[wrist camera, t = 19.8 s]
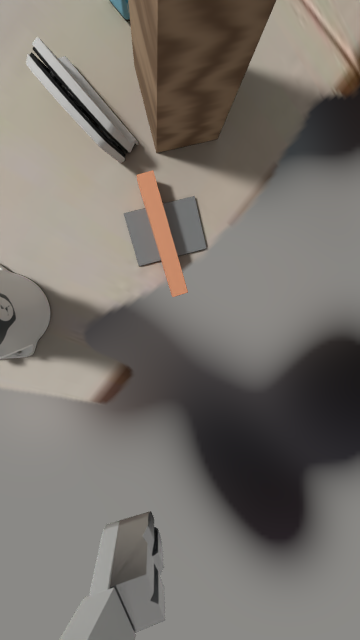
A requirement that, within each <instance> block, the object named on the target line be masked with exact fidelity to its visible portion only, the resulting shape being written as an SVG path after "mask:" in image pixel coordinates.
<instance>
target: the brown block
mask: <svg viewBox="0 0 360 640" xmlns="http://www.w3.org/2000/svg"><path fill="white" fill-rule="evenodd" d="M275 2H276V0H128V3H129V13H130V23H131V34H132V44H133V55H134V65H135V70H136V74H137V78H138V82H139V86H140V89H141V93H142V97H143V101H144V105H145V109H146V113H147V117H148V121H149V125H150V129H151V133H152V137H153V141H154V145H155V149H156V153H159V152H163V151H167V150H172V149H176V148H180V147H185V146H189V145H194V144H198V143H202V142H207V141H211V140H215V139H218V137H219V134H220V132H221V129H222V127H223V125H224V122H225V120H226V118H227V115H228V113H229V111H230V108H231V106H232V103H233V101H234V99H235V96H236V94H237V92H238V89H239V87H240V85H241V82H242V80H243V78H244V75H245V73H246V70H247V68H248V66H249V63H250V61H251V59H252V56H253V54H254V52H255V49H256V47H257V44H258V42H259V40H260V37H261V35H262V33H263V30H264V28H265V26H266V23H267V21H268V18H269V16H270V14H271V11H272V9H273V7H274V4H275Z"/></svg>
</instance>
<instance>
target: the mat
mask: <svg viewBox="0 0 360 640" xmlns="http://www.w3.org/2000/svg"><path fill="white" fill-rule="evenodd" d="M163 207H164V210H165V214H166V217H167V221H168V224H169V228H170V231H171V235H172V238H173V242H174V245H175V249H176V252H177V256H180V255H184V254H188V253H192V252H195V251H199V250H203V249H206V244H205V240H204V235H203V231H202V227H201V222H200V218H199V214H198V209H197V205H196V201H195V197H194V196H193V197H189V198H184V199H180V200H176V201H172V202H168V203H164V204H163ZM124 216H125V220H126V223H127V227H128V230H129V234H130V237H131V240H132V244H133V247H134V251H135V254H136V258H137V261H138V264H139V266H142V265H146V264H150V263H153V262H157V261H161V258H160V255H159V251H158V248H157V245H156V241H155V238H154V235H153V231H152V228H151V225H150V222H149V218H148V215H147V212H146V208H144V209H140V210H135V211H131V212H127V213H124Z"/></svg>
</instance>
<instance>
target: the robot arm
mask: <svg viewBox="0 0 360 640" xmlns="http://www.w3.org/2000/svg"><path fill="white" fill-rule="evenodd" d="M49 321H50V306H49V303H48V300H47V298H46V296H45V294H44V292H43V291H42V290H41V289H40V287H39V286H38V285H37V284H35V283H34V282H33V281H31V280H30V279H28V278H26V277H24V276H22V275H19V274H15V273H12V272H10V271H8V270H7V269H6V268H4V267H3V266H2V265H0V359H9V358H20V357H28V356H31V355H32V354H33V353H34V351H35V349H36V345H37V341H38V340H39V338H40V337H41V336H42V335H43V334H44V332H45V331H46V329H47V327H48V325H49ZM19 351H22V353H21V352H19ZM163 568H164V563H163V549H162V541H161V537H160V534H159V530H158V529H157V528H156V527H154V517H153V515H152V512H151V511H150V512H146V513H143V514H140V515H136V516H133V517H129V518H126V519H123V520H120V521H116V522H113V523H110V524H107V525H106V526H105V528H104V530H103V533H102V537H101V542H100V547H99V552H98V556H97V561H96V566H95V570H94V575H93V580H92V584H91V589H90V594H89V596H87V597H85V598H83V600H82V602H81V604H80V605H79V607H78V609H77V610H76V612H75V614H74V615H73V617H72V619H71V621H70V622H69V624H68V626H67V627H66V629H65V631H64V633H63V634H62V636H61V638H60V639H59V640H135V637H136V634H135V633H136V632H138V631H141V630H143V629H146V628H148V627H150V626H153V625H155V624H158V623H160V622H163V621H165V601H164V600H165V597H164V585H163V582H162V580H161V577H160V575H161V572H162V570H163Z"/></svg>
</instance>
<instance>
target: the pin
mask: <svg viewBox="0 0 360 640" xmlns="http://www.w3.org/2000/svg"><path fill="white" fill-rule="evenodd" d="M137 181H138V185H139V188H140V192H141V195H142V198H143V202H144V205H145V208H146V212H147V215H148V218H149V222H150V225H151V228H152V231H153V235H154V238H155V241H156V245H157V248H158V251H159V255H160V258H161V261H162V265H163V268H164V271H165V275H166V278H167V281H168V285H169V288H170V291H171V294H172V296H173V297H175V296H178V295H181V294H184V293H187V292H188V290H187V287H186V283H185V280H184V276H183V273H182V270H181V266H180V263H179V259H178V256H177V252H176V249H175V245H174V242H173V238H172V235H171V231H170V228H169V224H168V221H167V217H166V214H165V210H164V207H163V203H162V200H161V196H160V193H159V189H158V186H157V182H156V179H155V175H154V172H153V171H149V172H145V173H142V174H138V175H137Z"/></svg>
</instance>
